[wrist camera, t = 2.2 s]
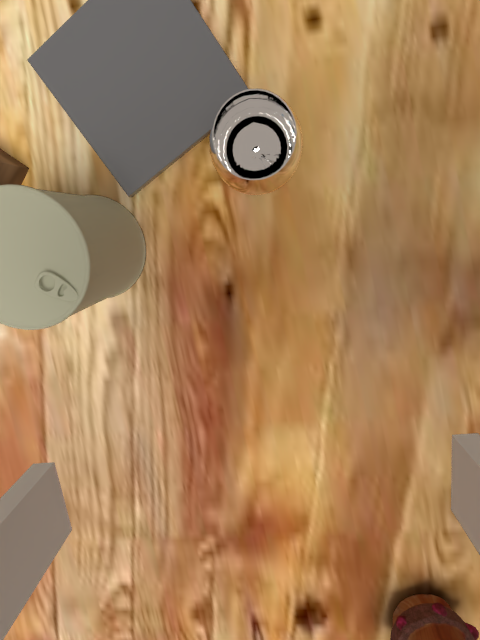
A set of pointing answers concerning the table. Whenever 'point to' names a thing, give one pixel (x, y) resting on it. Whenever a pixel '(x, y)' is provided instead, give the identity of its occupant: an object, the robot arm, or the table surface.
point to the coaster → (138, 82)
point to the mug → (429, 620)
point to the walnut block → (11, 170)
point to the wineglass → (255, 142)
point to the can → (63, 254)
